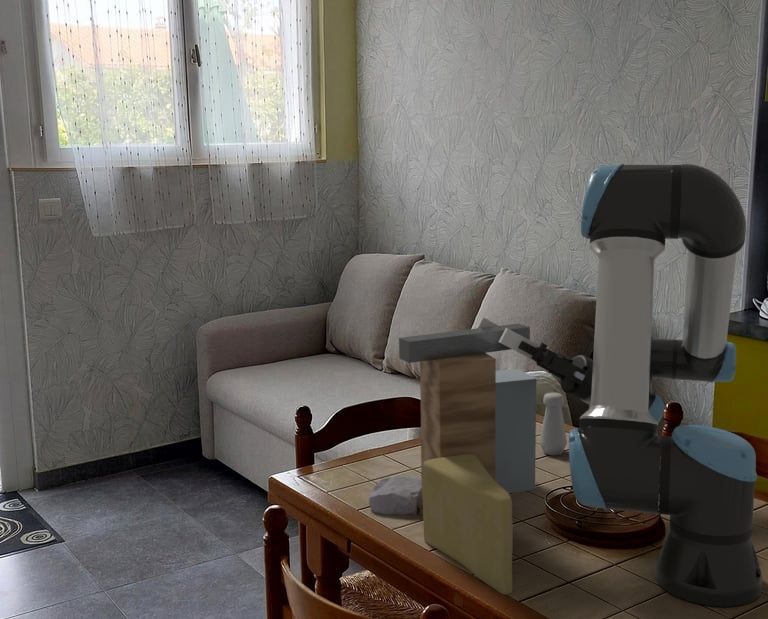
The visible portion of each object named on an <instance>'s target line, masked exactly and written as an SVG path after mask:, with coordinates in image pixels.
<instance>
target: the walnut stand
mask: <svg viewBox="0 0 768 619" xmlns="http://www.w3.org/2000/svg"><path fill="white" fill-rule="evenodd" d="M496 363H497V359H496V358H495V357H494V356H491V355H489V354H488V353H480V354H473V355H465V356H458V357H450V358H443V359H435V360H428V361H420V362H419V364H420V365H419V368H420V370H419V371H420V372H419V373H420V377H419V378H420V380H419V382H420V390H419V392H420V460H421V461H420V462H421V464H420V466H421V472H420V474H421V475H420V476H421V478H420V479H421V481H422V504H421V506H418V513H419V515H421V517H423V463H424V462H425V461H427V460H430V459H436V458H442V457H449V456H456V455H463V454H472V455H474V456H476V458H477V459H478V460H479V461H480V463H481V464H482V465H483V467H484V468H485V469H486V471H487V472H488V473H489V474H490V476H491V477H492V478H493V479H494V480H495V409H496V371H497V368H496V367H497V364H496Z"/></svg>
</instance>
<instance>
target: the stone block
mask: <svg viewBox="0 0 768 619" xmlns="http://www.w3.org/2000/svg"><path fill="white" fill-rule="evenodd" d="M368 504H369V506H370V510H371V511H372V512H373V513H376V514H383V515H411V516H415V515H417V514H418V513H419V512H418V506H422V481H421V478H419V477H416V476H411V475H400V474H399V475H395V476H388V477H386V478H382V479H380V480H379V481H378V483H376V484H375V485H374V487H373V488H372V490H371V492H370V493H369V496H368Z"/></svg>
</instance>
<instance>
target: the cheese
mask: <svg viewBox="0 0 768 619" xmlns="http://www.w3.org/2000/svg"><path fill="white" fill-rule="evenodd" d="M422 518H423V519H422V520H423V540H424V542H425V543H427V544H428V545H429V546H431V547H433V548H435V549H436V550H438V551H440V552H441V553H444V555H447V556H448V557H449V558H451V559H453V560H454V561H457V562H458V563H459V564H460V565H462V566H464V567H465V569H467V570H469V571H470V572H471V573H472V574H474V575H475V577H477V578H479V579H480V580H481V581H483V582H484V583H485V584H487V585H488V586H489V587H491V588H492V589H494V590H495V591H497V592H498V593H500V594H502V595H509V594H512V593H513V546H514V545H513V541H514V540H513V539H514V538H513V537H514V535H513V534H514V532H513V502H512V497H511V495H510V493H508V492H507V491H506V490H505V489H503V488H502V487H501V486H500V485H499V484H498V483H497V482H496V481H495V480H494V479H493V478H492V477H491V476H490V474H489V473H488V472H487V471H486V469H485V468H484V467H483V465H482V464H481V463H480V461H479V460H478V459H477V458H476V456H474V455H472V454H463V455H456V456H449V457H442V458H436V459H430V460H427V461H425V462H424V463H423V516H422Z"/></svg>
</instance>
